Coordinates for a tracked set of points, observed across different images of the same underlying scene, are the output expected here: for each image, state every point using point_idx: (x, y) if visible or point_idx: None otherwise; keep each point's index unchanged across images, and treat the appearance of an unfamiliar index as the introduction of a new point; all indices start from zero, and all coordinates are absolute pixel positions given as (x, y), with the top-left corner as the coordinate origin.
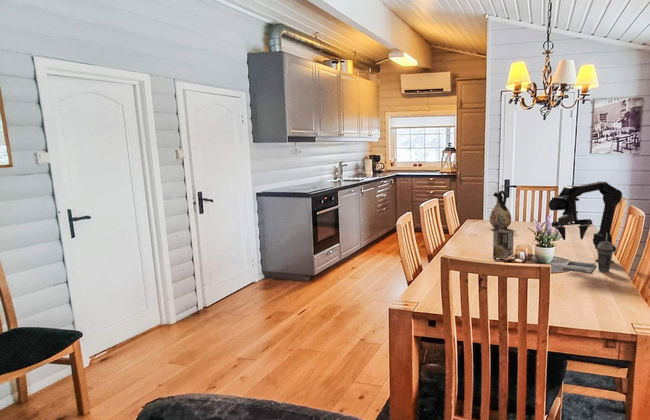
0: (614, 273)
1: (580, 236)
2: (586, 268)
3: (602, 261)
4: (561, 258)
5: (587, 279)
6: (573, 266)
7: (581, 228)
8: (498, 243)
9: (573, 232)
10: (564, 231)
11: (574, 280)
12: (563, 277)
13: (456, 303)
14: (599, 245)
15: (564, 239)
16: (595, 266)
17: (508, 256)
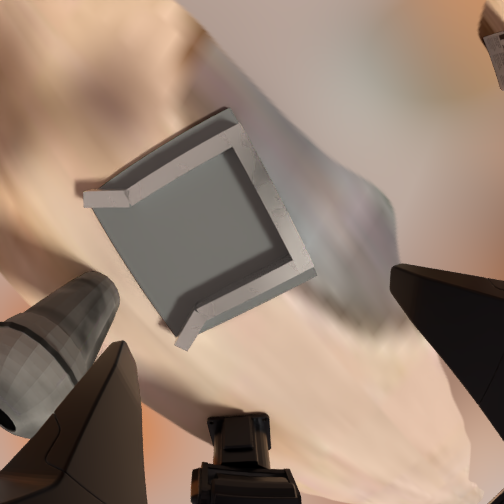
0: None
1: (110, 365)
2: (107, 199)
3: (50, 294)
4: (400, 322)
5: (34, 91)
6: (180, 161)
7: (3, 483)
8: None
9: (463, 495)
10: (477, 374)
11: (57, 22)
12: (114, 2)
13: None
14: (6, 355)
15: (393, 279)
16: (175, 333)
17: (499, 37)
